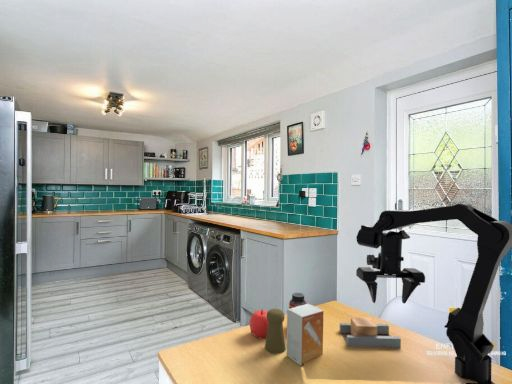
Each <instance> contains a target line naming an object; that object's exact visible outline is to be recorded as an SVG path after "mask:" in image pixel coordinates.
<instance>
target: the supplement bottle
mask: <svg viewBox="0 0 512 384" xmlns="http://www.w3.org/2000/svg"><path fill="white" fill-rule="evenodd" d="M291 296H292V297H291V299H290V300H289V303H288V305H289V306H288V309H290V308H294V307H297V306H301V305H305V304H308V302H307V301H306V300H305V294H304V293H302V292H293V293H292V294H291Z"/></svg>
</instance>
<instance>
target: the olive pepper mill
mask: <svg viewBox="0 0 512 384" xmlns="http://www.w3.org/2000/svg"><path fill="white" fill-rule="evenodd" d="M267 311H268V312H267V321H268V328H267V336H266V337H265V343H264V344H265V345H264V350H265V351H266V352H267V353H269V354H273V355H280V354H283V353H285V352H286V351H287V347H286V342H285V333H284V332H285V331H284V325H283V324H284V323H283V322H284V321H285V313H284V311H283V310H282V309H279V308H271V309H269V310H267Z"/></svg>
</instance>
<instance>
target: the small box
mask: <svg viewBox="0 0 512 384" xmlns="http://www.w3.org/2000/svg"><path fill="white" fill-rule="evenodd" d="M286 314H287V315H286V357H288V358H289V359H291V360H292V361H294V363H296V364H297V365H299V366H300V367H304V365H305V364H304V363H305V362H307V361H309V360H312V359H314V358H317V357H319V356H321V355H323V354H324V352H323V351H324V350H323V349H324V310H322V309H321V308H319V307H316V306H314V305H312V304H310V303H307V304H305V305H301V306H297V307H294V308H290V309H289V308H287V310H286Z"/></svg>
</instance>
